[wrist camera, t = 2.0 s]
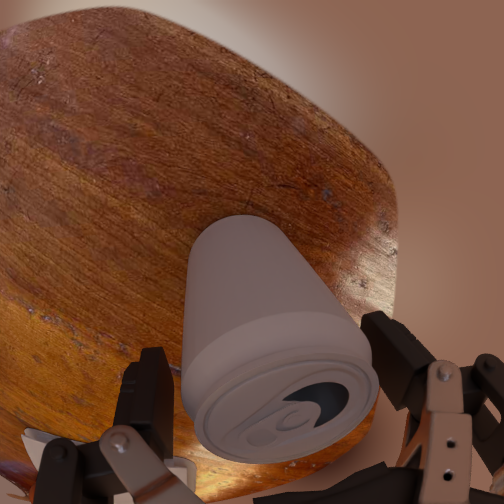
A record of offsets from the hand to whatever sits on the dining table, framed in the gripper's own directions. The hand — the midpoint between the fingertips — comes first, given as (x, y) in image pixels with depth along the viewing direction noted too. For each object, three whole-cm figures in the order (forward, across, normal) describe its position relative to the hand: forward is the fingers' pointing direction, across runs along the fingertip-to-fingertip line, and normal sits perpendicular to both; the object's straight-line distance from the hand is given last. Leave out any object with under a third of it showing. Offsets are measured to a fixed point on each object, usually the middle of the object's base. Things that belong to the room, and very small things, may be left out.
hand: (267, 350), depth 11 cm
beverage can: (+9, 0, 0) cm, 9 cm away
